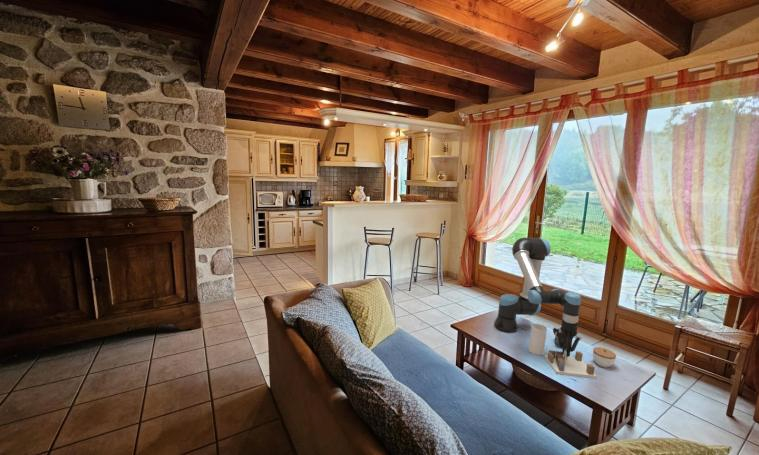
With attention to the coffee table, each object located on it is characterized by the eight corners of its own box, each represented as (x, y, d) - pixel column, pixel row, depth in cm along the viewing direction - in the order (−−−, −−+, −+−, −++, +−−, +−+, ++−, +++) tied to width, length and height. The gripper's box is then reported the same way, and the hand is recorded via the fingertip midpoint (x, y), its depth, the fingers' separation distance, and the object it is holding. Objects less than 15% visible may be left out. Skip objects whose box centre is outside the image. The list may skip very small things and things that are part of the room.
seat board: (544, 356, 189) (545, 346, 188) (580, 360, 187) (582, 350, 186) (556, 374, 172) (558, 363, 171) (596, 378, 170) (598, 367, 169)
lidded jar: (587, 361, 186) (589, 346, 185) (599, 357, 191) (601, 343, 189) (606, 371, 177) (608, 356, 175) (618, 367, 181) (621, 352, 180)
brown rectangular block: (564, 368, 175) (565, 360, 174) (557, 366, 176) (558, 359, 175) (561, 359, 183) (562, 352, 182) (555, 358, 184) (556, 351, 184)
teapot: (563, 351, 196) (566, 336, 194) (545, 341, 207) (547, 327, 205) (574, 348, 200) (576, 333, 198) (556, 339, 211) (558, 324, 209)
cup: (545, 355, 190) (548, 330, 187) (530, 353, 192) (533, 328, 189) (541, 348, 198) (544, 324, 195) (527, 346, 200) (530, 322, 197)
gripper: (585, 323, 173) (580, 364, 177) (561, 315, 184) (557, 353, 187) (579, 326, 169) (573, 368, 172) (554, 318, 180) (550, 357, 183)
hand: (565, 360), depth 180 cm, fingers closed
